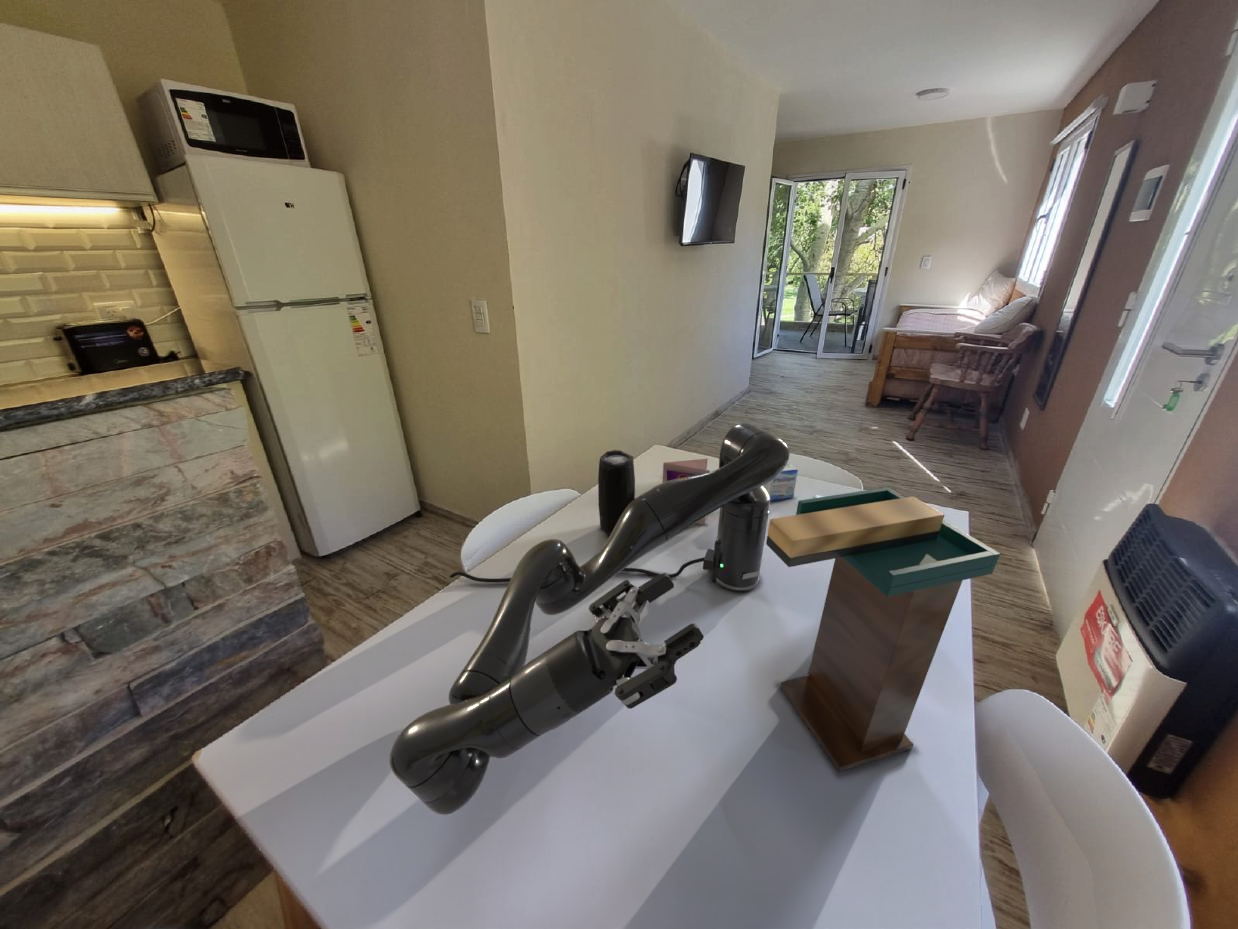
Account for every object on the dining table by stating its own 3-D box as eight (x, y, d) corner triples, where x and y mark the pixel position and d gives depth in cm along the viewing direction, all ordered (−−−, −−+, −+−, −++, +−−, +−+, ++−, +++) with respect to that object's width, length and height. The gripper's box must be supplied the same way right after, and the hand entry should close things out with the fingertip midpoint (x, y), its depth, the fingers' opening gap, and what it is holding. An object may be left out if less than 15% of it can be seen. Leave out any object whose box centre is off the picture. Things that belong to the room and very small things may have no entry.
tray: (887, 597, 49) (893, 575, 48) (795, 518, 63) (798, 500, 62) (992, 574, 52) (1000, 553, 51) (882, 504, 66) (887, 486, 65)
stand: (838, 772, 63) (895, 587, 50) (779, 686, 76) (812, 520, 63) (912, 749, 66) (983, 568, 53) (843, 670, 79) (888, 507, 66)
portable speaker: (601, 541, 112) (599, 466, 104) (597, 520, 121) (595, 449, 112) (637, 538, 113) (638, 463, 105) (631, 518, 122) (631, 447, 113)
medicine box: (768, 501, 129) (772, 472, 126) (759, 494, 133) (763, 466, 130) (793, 497, 131) (798, 469, 128) (784, 490, 135) (789, 462, 132)
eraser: (788, 567, 52) (793, 541, 50) (765, 544, 56) (769, 518, 54) (936, 539, 56) (945, 514, 55) (906, 519, 60) (913, 496, 59)
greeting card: (660, 517, 122) (662, 464, 116) (668, 503, 128) (671, 452, 122) (703, 526, 118) (708, 472, 112) (710, 512, 124) (715, 459, 118)
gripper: (553, 721, 45) (696, 628, 45) (536, 618, 58) (648, 545, 58) (593, 756, 49) (725, 670, 49) (568, 652, 61) (674, 583, 61)
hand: (683, 602), depth 53 cm, fingers open, 8 cm apart
